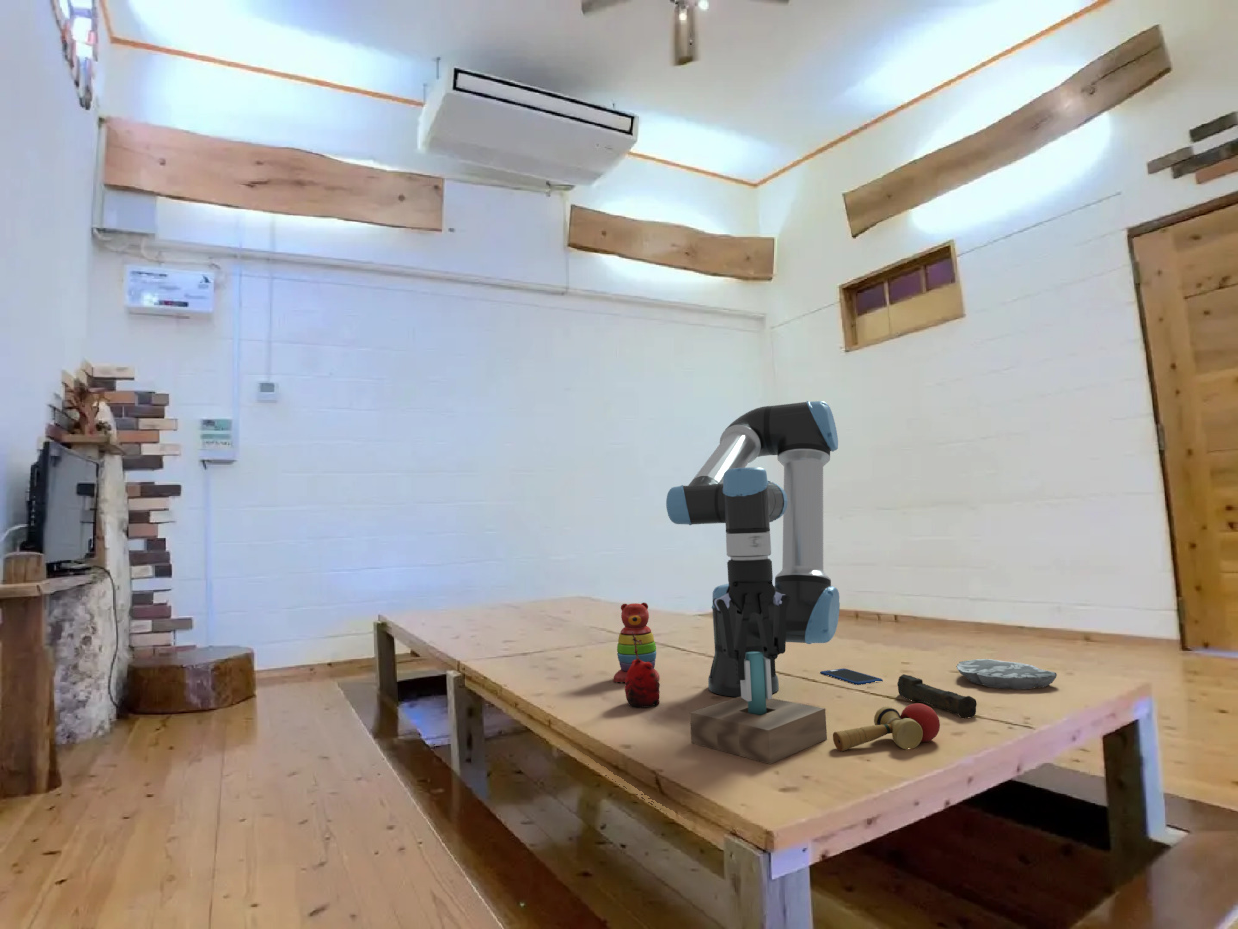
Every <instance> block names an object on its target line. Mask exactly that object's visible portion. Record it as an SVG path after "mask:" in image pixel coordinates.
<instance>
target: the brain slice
mask: <svg viewBox="0 0 1238 929" xmlns="http://www.w3.org/2000/svg"><path fill="white" fill-rule="evenodd" d="M955 667H956V670H957V671H958V672H959V673H960V674H961V676H964V677H965V678H966V679H967V680H969V681H970V682H971V683H973V684H977V685H984V686H985V687H988V688H996V689H1012V690H1031V689H1030V688H1033V689H1035V688H1034V687H1044V688H1046V687H1049V685H1051V684H1053V682H1054V681H1055V680H1056V678H1057V676H1058V674H1057V672H1055V671H1051V670H1046V669H1042V668H1039V667H1037V666H1034V665H1032V664H1027V663H1022V662H1018V661H1017V662H1014V661H1004V660H998V659H991V658H990V659H989V658H976V659H969V660H964V661H963V660H962V661H959V662H958V663H957V665H956V666H955Z"/></svg>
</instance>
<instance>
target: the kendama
mask: <svg viewBox="0 0 1238 929" xmlns="http://www.w3.org/2000/svg"><path fill="white" fill-rule="evenodd" d="M873 723H874V725H867V726H861V727H856V728H851V729H845V730H839V731H838V730H837V731H834V732H833V734H832V740H833V744H834V746H835V748H836V749H837V750H838V751H839V752H844V751H847V750H849V749H851V748H856V747H858V746H860V745H863V744H867V743H870V742H873V741H875V740H877V739H879V738H882V737H884V736H886V735H889V734H891V735H892V736H891V737H892V740H893V742H894V743H895V745H897V746H898V747H899V748H901V749H903V750H909V749H908V748H914V749H915V748H917V747H918V746H919V745H920V743H927V742H930V741H933V740H934V739H935V738H936V737H937V736H938V734H939V732H940V728H941V724H940V719H939V716H938V714H937V713H936V711H935V710H934V709H933V708H932V707H931V706H928V704H927V705H926V703H925V704H924V703H919V702H915V703H914V702H913V703H911V704H908V705H907V706H906V707H904V709H903V710H902V711H901V714H900V713H899V711H898V710H897V709H896V708H894V707H892V706H882V707H880V708H879V709H878V710H876V712H875V715H874V717H873Z"/></svg>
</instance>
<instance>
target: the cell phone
mask: <svg viewBox="0 0 1238 929" xmlns="http://www.w3.org/2000/svg"><path fill="white" fill-rule="evenodd" d="M820 673H821V674H820ZM819 674H820V675H823V674H824V675H823V676H826V675H829V676H828V677H830V676H832V677H831V678H833V677H835V678H834V679H836V678H838V679H837V680H839V679H841V680H840V681H842V680H844V681H843V682H846V681H848V682H847V683H849V682H851V683H850V684H852V683H854V684H853V685H856V684H857V685H858V686H860V685H861V684H862V685H867V684H866V683H869V684H872V683H871V682H875V681H882V682H883V679H882V678H879V677H876V676H873V675H869V674H867V673H862V672H860V671H856V670H855V671H854V670H853V669H848V668H844V667H843V668H837V669H828V670H821V671H820V672H819Z"/></svg>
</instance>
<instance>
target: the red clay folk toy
mask: <svg viewBox="0 0 1238 929" xmlns="http://www.w3.org/2000/svg"><path fill="white" fill-rule="evenodd" d="M632 636H633V637H634V638H633V639H632V640H634V645H635V649H634V652H635V653H636V660H633V661H632V665H631V666H630V668H629V669H628V671H627V676H626V678H625V683H624V692H625V698H626V701H627V704H628V705H629V706H631V707H635V708H640V707H641V708H650V707H654V706H658V705H659V704H660V686H661V685H660V683H659V682H660V681H658V678H657V674H656V672H655V671H654V669H655V668H654V669H653V665H652V664H651V663H650V662H643V661H641V660H640V659H639V657H638V654H637V651H638V649H637V646H636V642H638V643H639V644H641V645H642V640H637V639H636V637H635V636H634V635H633V633H632Z"/></svg>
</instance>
